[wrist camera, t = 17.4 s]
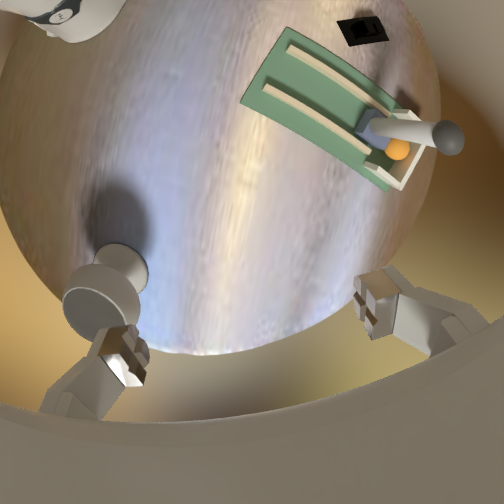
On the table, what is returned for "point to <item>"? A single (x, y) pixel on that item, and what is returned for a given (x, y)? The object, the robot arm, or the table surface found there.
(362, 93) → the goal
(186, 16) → the table surface
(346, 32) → the black boxy piece
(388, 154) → the ball
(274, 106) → the pitch
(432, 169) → the table surface
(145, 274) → the chalice
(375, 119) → the lever
